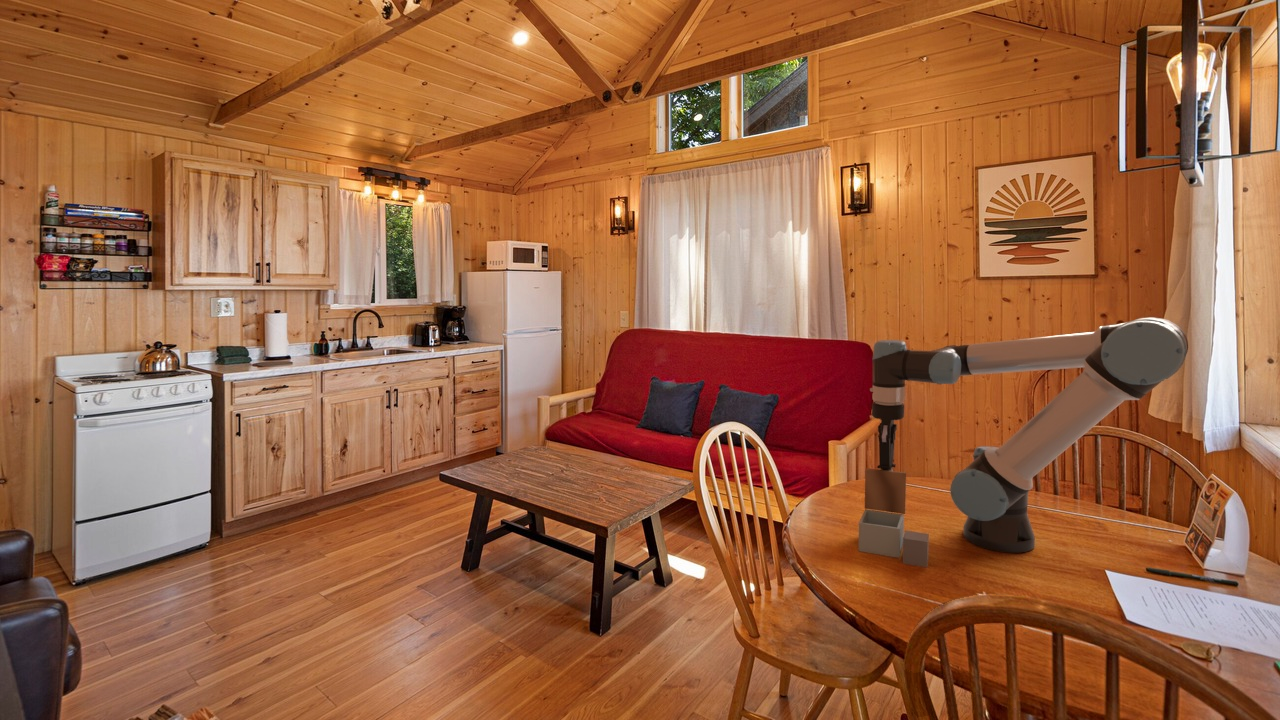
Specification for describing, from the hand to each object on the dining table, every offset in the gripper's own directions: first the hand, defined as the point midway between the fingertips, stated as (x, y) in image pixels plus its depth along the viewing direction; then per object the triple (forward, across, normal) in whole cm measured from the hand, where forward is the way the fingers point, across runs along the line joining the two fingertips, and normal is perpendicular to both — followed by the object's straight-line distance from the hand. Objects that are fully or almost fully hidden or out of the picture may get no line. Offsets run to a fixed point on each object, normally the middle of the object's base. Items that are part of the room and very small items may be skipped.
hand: (885, 492), depth 155 cm
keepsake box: (+10, +10, 0) cm, 14 cm away
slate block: (+10, +15, +9) cm, 20 cm away
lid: (-2, +4, 0) cm, 5 cm away
